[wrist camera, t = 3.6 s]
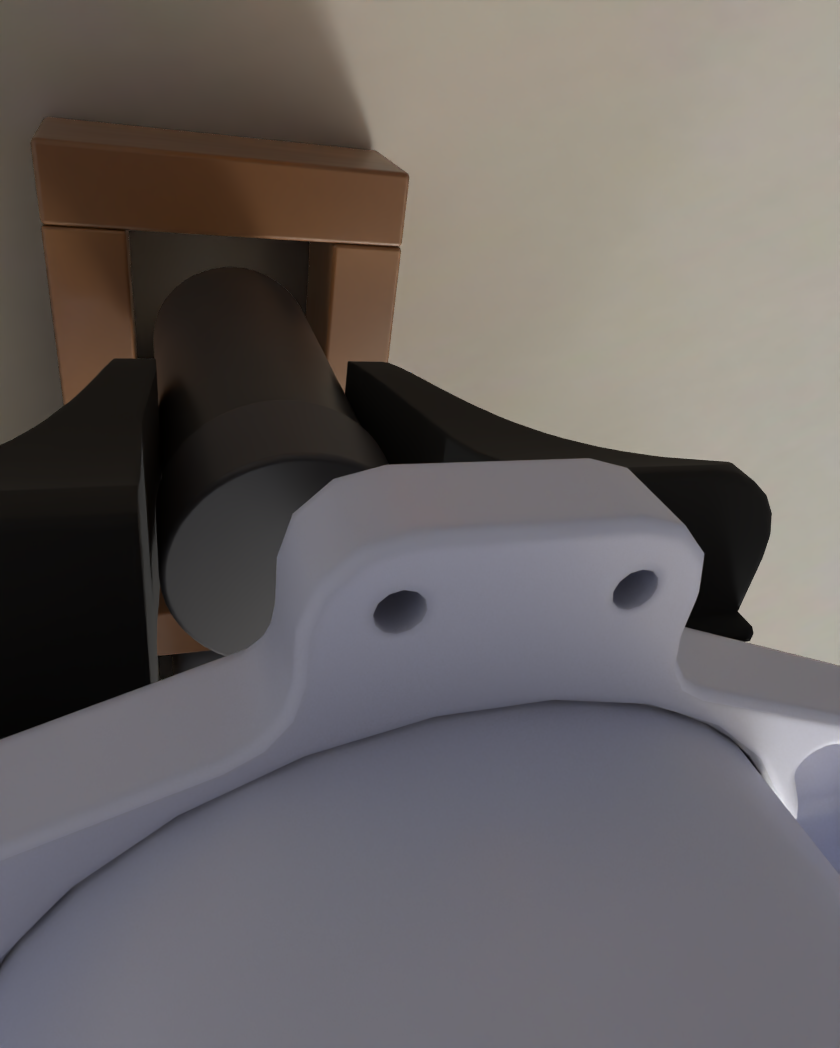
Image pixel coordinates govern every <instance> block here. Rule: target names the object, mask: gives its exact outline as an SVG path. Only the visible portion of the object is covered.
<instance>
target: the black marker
mask: <svg viewBox="0 0 840 1048" xmlns="http://www.w3.org/2000/svg"><path fill="white" fill-rule="evenodd" d="M153 346H154V359H156V369H157V387H158V405H159V423H160V459H161V475H162V478H161V481H160V484H159V487H158V492H157V498H156V529H157V551H158V572H159V581H160V588H161V592H162V595H163V598H164V601H165V604H166V606H167V607H168V609H169V611H170V613H171V615H172V616H173V618H174V619H175V620H176V622H177V623H178V624H179V625H180V627H181V628H182V629H183V630H184V631H185V632H186V633H187V634H188V635H190V636H191V637H192V638H193V639H194V640H196V641H197V642H198V643H200V644H201V645H203V646H204V647H206V648H208V649H210V650H212V651H214V652H216V653H218V654H221V655H223V656H228V655H230V654H233V653H236V652H239V651H241V650H244V649H247V648H248V647H250V646H251V645H252V644H254V643H255V642H256V641H257V640H259V639H260V638H261V637H262V636H263V635H264V634H265V632H266V630H267V628H268V627H269V625H270V623H271V619H272V614H273V610H274V605H275V589H276V565H277V555H278V553H279V550H280V547H281V544H282V542H283V539H284V536H285V534H286V531H287V528H288V525H289V523H290V520H291V517H292V514H293V513H294V512H295V511H296V510H298V509H299V508H300V507H301V506H302V505H303V504H305V503H306V502H307V501H308V500H309V499H311V498H312V497H313V496H314V495H315V494H316V493H318V492H319V491H320V490H321V489H322V488H323V487H325V486H326V485H327V484H328V483H329V482H330V481H332V480H333V479H335V478H338V477H342V476H346V475H350V474H353V473H357V472H361V471H365V470H368V469H372V468H376V467H380V466H383V465H389V463H388V461H387V459H386V457H385V455H384V453H383V452H382V450H381V448H380V447H379V445H378V444H377V442H376V441H375V440H374V439H373V437H372V436H371V435H370V434H369V433H368V432H367V431H366V430H365V429H364V428H363V427H362V426H361V424H360V422H359V420H358V419H357V417H356V415H355V413H354V411H353V409H352V407H351V405H350V403H349V401H348V399H347V397H346V395H345V393H344V391H343V389H342V387H341V385H340V383H339V381H338V379H337V378H336V376H335V374H334V372H333V370H332V368H331V366H330V364H329V362H328V360H327V358H326V356H325V354H324V352H323V350H322V348H321V346H320V344H319V342H318V340H317V338H316V336H315V335H314V333H313V331H312V329H311V327H310V325H309V323H308V321H307V319H306V317H305V315H304V313H303V311H302V309H301V307H300V306H299V304H298V303H297V301H296V300H295V298H294V297H293V296H292V295H291V293H290V292H289V291H287V290H286V289H285V288H284V287H283V286H282V285H281V284H279V283H278V282H277V281H275V280H274V279H272V278H270V277H268V276H266V275H264V274H262V273H259V272H257V271H253V270H249V269H245V268H237V267H222V268H215V269H210V270H207V271H203V272H201V273H198V274H196V275H194V276H192V277H190V278H188V279H187V280H185V281H183V282H182V283H181V284H180V285H179V286H177V287H176V288H175V289H174V290H173V291H172V292H171V293H170V294H169V296H168V297H167V298H166V300H165V301H164V303H163V304H162V306H161V308H160V310H159V313H158V315H157V318H156V321H155V326H154V332H153Z"/></svg>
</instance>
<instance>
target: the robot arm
mask: <svg viewBox="0 0 840 1048" xmlns="http://www.w3.org/2000/svg"><path fill="white" fill-rule="evenodd" d="M345 395H346V397H347V399H348V401H349V403H350V405H351V407H352V409H353V411H354V413H355V415H356V417H357V419H358V420H359V422H360V424H361V426H362V427H363V428H364V429H365V430H366V431H367V432H368V433H369V434H370V435H371V436H372V437H373V439H374V440H375V441H376V442H377V444H378V445H379V447H380V448H381V450H382V452H383V453H384V455H385V457H386V459H387V461H388V463H389V465H383V466H380V467H376V468H372V469H368V470H365V471H361V472H357V473H353V474H350V475H346V476H342V477H338V478H335V479H333V480H332V481H330V482H329V483H328V484H327V485H326V486H325V487H323V488H322V489H321V490H320V491H319V492H318V493H316V494H315V495H314V496H313V497H312V498H311V499H309V500H308V501H307V502H306V503H305V504H303V505H302V506H301V507H300V508H299V509H298V510H296V511H295V512H294V513H293V514H292V517H291V520H290V523H289V525H288V528H287V531H286V534H285V536H284V539H283V542H282V544H281V547H280V550H279V553H278V555H277V565H276V589H275V605H274V610H273V614H272V619H271V623H270V625H269V627H268V628H267V630H266V632H265V634H264V635H263V636H262V637H261V638H260V639H259V640H257V641H256V642H255V643H254V644H252V645H251V646H250V647H248V648H247V649H244V650H241V651H239V652H236V653H233V654H230V655H228V656H225V657H222V658H220V659H217V660H214V661H212V662H209V663H206V664H203V665H201V666H198V667H195V668H193V669H190V670H187V671H184V672H182V673H179V674H176V675H174V676H171V677H168V678H165V679H163V680H160V681H159V680H158V658H157V619H158V606H159V593H160V581H159V572H158V551H157V529H156V498H157V492H158V487H159V484H160V481H161V478H162V475H161V459H160V423H159V405H158V387H157V369H156V359H132V358H114V359H113V360H111V361H110V362H109V363H108V364H107V365H106V366H105V367H104V368H103V369H102V370H101V371H100V372H99V373H98V375H97V376H96V377H95V378H94V379H93V380H92V381H91V382H90V383H89V384H88V385H87V386H86V387H85V388H84V389H83V390H82V391H81V392H80V393H79V394H77V395H76V396H75V397H74V398H73V399H72V400H71V401H69V402H68V403H67V404H66V405H64V406H63V407H62V408H60V409H59V410H58V411H57V412H55V413H54V414H53V415H51V416H50V417H49V418H48V419H46V420H45V421H43V422H42V423H40V424H38V425H37V426H35V427H34V428H32V429H30V430H29V431H27V432H25V433H23V434H21V435H20V436H18V437H16V438H14V439H12V440H10V441H8V442H6V443H4V444H2V445H0V1048H840V666H839V665H835V664H831V663H827V662H823V661H819V660H815V659H811V658H807V657H803V656H799V655H795V654H791V653H787V652H783V651H779V650H775V649H771V648H767V647H763V646H759V645H755V644H751V643H747V642H746V641H750V640H751V638H752V635H753V629H752V626H751V625H750V624H749V623H748V622H747V621H746V620H745V619H744V618H743V617H742V616H741V615H740V614H739V613H738V610H739V607H740V605H741V603H742V601H743V599H744V597H745V594H746V592H747V590H748V588H749V586H750V584H751V582H752V579H753V577H754V575H755V573H756V571H757V569H758V566H759V564H760V562H761V560H762V558H763V555H764V552H765V549H766V546H767V543H768V540H769V537H770V532H771V515H772V513H771V509H770V506H769V503H768V499H767V496H766V494H765V493H764V492H763V491H762V490H761V489H760V487H759V486H758V485H757V484H756V483H755V482H754V481H753V480H752V479H751V478H750V477H748V476H747V475H746V474H745V473H743V472H742V471H741V470H740V469H738V468H737V467H736V466H735V465H734V464H732V463H730V462H722V461H708V460H694V459H681V458H667V457H658V456H651V455H644V454H637V453H630V452H623V451H618V450H612V449H607V448H602V447H597V446H592V445H588V444H584V443H580V442H576V441H572V440H568V439H564V438H560V437H557V436H553V435H550V434H546V433H543V432H540V431H537V430H534V429H531V428H529V427H526V426H523V425H520V424H517V423H514V422H512V421H509V420H506V419H504V418H501V417H499V416H497V415H494V414H492V413H490V412H488V411H486V410H483V409H481V408H479V407H477V406H474V405H472V404H470V403H468V402H466V401H464V400H462V399H460V398H458V397H456V396H454V395H452V394H450V393H448V392H446V391H444V390H442V389H440V388H439V387H437V386H435V385H433V384H431V383H429V382H427V381H425V380H423V379H421V378H420V377H418V376H416V375H414V374H412V373H410V372H408V371H406V370H404V369H402V368H400V367H397V366H395V365H392V364H390V363H386V362H370V361H348V363H347V374H346V386H345Z"/></svg>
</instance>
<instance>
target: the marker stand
mask: <svg viewBox="0 0 840 1048" xmlns="http://www.w3.org/2000/svg"><path fill="white" fill-rule="evenodd" d="M30 144H31V152H32V160H33V168H34V176H35V183H36V191H37V199H38V207H39V215H40V220H41V222H42V223H43V224H42V227H41V232H42V240H43V248H44V256H45V264H46V271H47V279H48V287H49V295H50V303H51V310H52V318H53V326H54V334H55V342H56V350H57V357H58V365H59V373H60V381H61V389H62V396H63V404H64V405H66V404H67V403H68V402H69V401H71V400H72V399H73V398H74V397H75V396H76V395H77V394H79V393H80V392H81V391H82V390H83V389H84V388H85V387H86V386H87V385H88V384H89V383H90V382H91V381H92V380H93V379H94V378H95V377H96V376H97V375H98V373H99V372H100V371H101V370H102V369H103V368H104V367H105V366H106V365H107V364H108V363H109V362H110V361H111V360H113V359H114V358H132V359H138V357H137V343H136V328H135V313H134V299H133V284H132V270H131V255H130V240H129V230H135V231H151V232H167V233H183V234H199V235H215V236H231V237H247V238H263V239H279V240H295V241H310V248H309V266H308V284H307V303H306V319H307V321H308V323H309V325H310V327H311V329H312V331H313V333H314V335H315V336H316V338H317V340H318V342H319V344H320V346H321V348H322V350H323V352H324V354H325V356H326V358H327V360H328V362H329V364H330V366H331V368H332V370H333V372H334V374H335V376H336V378H337V379H338V381H339V383H340V385H341V387H342V389H343V391H344V393H345V386H346V374H347V363H348V361H370V362H386V363H388V356H389V348H390V339H391V331H392V322H393V314H394V305H395V297H396V288H397V280H398V271H399V263H400V254H401V250H400V248H399V247H398V246H400V245H401V243H402V235H403V227H404V218H405V210H406V201H407V193H408V184H409V175H408V173H406V172H405V171H404V170H402V169H401V168H399V167H398V166H397V165H395V164H394V163H392V162H391V161H390V160H388V159H387V158H386V157H384V156H383V155H381V154H380V153H379V152H377V151H375V150H366V149H356V148H346V147H336V146H327V145H317V144H307V143H298V142H288V141H278V140H268V139H259V138H249V137H239V136H229V135H220V134H210V133H200V132H191V131H181V130H171V129H161V128H152V127H142V126H132V125H122V124H113V123H103V122H93V121H84V120H74V119H64V118H54V117H46V118H44V119H43V120H42V122H41V124H40V125H39V127H38V129H37V130H36V132H35V134H34V135H33V137H32V139H31V142H30ZM200 651H210V649H208V648H206V647H204V646H203V645H201V644H200V643H198V642H197V641H196V640H194V639H193V638H192V637H191V636H190V635H188V634H187V633H186V632H185V631H184V630H183V629H182V628H181V627H180V625H179V624H178V623H177V622H176V620H175V619H174V618H173V616H172V615H171V613H170V611H169V609H168V607H167V606H166V604H165V601H164V598H163V595H162V592H161V588H160V593H159V606H158V619H157V658H158V656H161V655H171V654H181V653H191V652H200ZM158 680H159V681H160V678H159V664H158Z"/></svg>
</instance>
